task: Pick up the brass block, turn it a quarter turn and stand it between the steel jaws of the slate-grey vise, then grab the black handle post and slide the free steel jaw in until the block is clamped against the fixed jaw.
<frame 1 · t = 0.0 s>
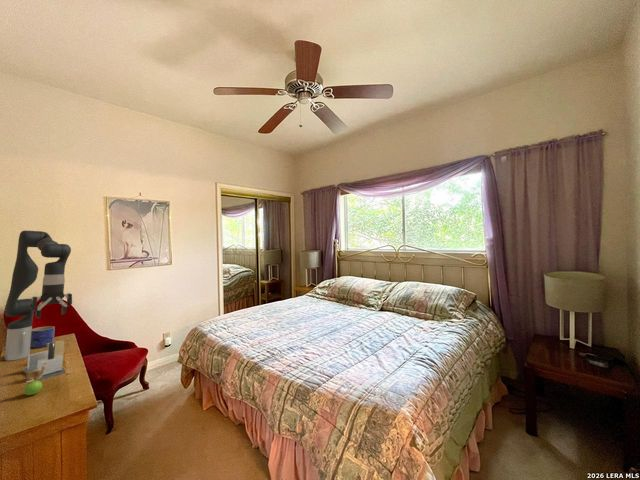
hand: (51, 316, 126), 29 cm above the dresser, fingers open, 8 cm apart
brass block: (54, 360, 142), on the dresser
planter: (41, 346, 163), on the dresser
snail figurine: (34, 394, 109), on the dresser
free jaw: (50, 357, 125), point 9 cm above the dresser, slide at 0.0 cm
vise: (44, 372, 128), on the dresser
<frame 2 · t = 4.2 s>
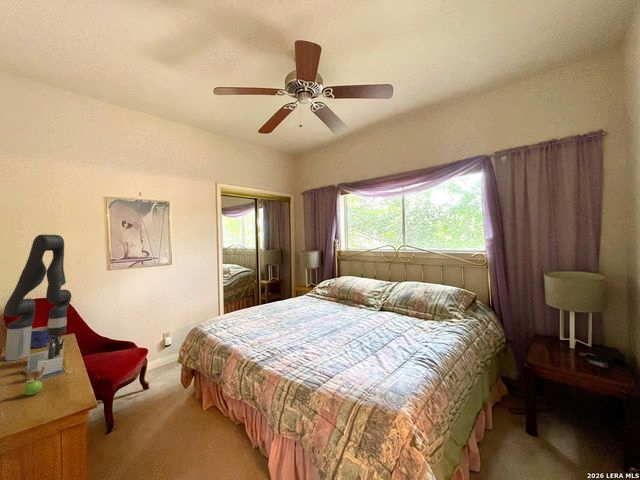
hand: (54, 356, 142), 2 cm above the dresser, fingers closed on brass block, 4 cm apart
brass block: (54, 360, 142), on the dresser, touching gripper
everything else where it was.
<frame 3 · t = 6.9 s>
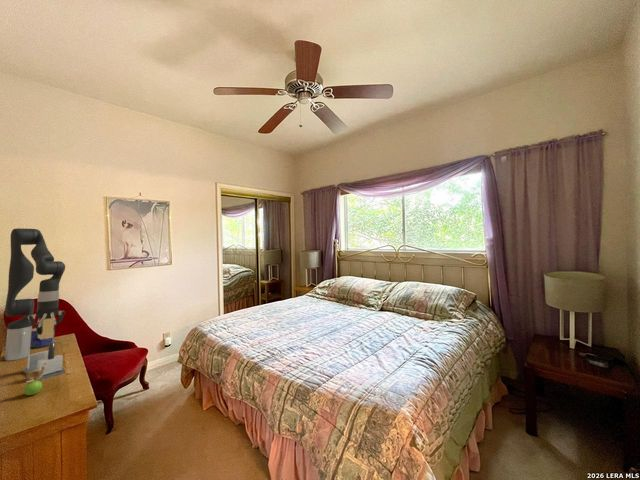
hand: (45, 333, 130), 19 cm above the dresser, fingers closed on brass block, 4 cm apart
brass block: (45, 337, 130), point 17 cm above the dresser, touching gripper
everything else where it was.
when the fingers open (5 cm above the dresser, at t = 10.0 s): brass block stays where it is, resting on vise.
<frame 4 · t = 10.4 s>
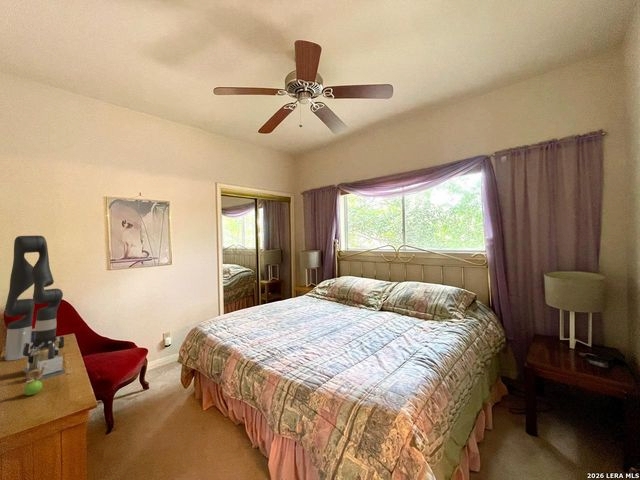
hand: (43, 360, 129), 6 cm above the dresser, fingers open, 8 cm apart
brass block: (42, 368, 129), point 1 cm above the dresser, touching vise
everything else where it was.
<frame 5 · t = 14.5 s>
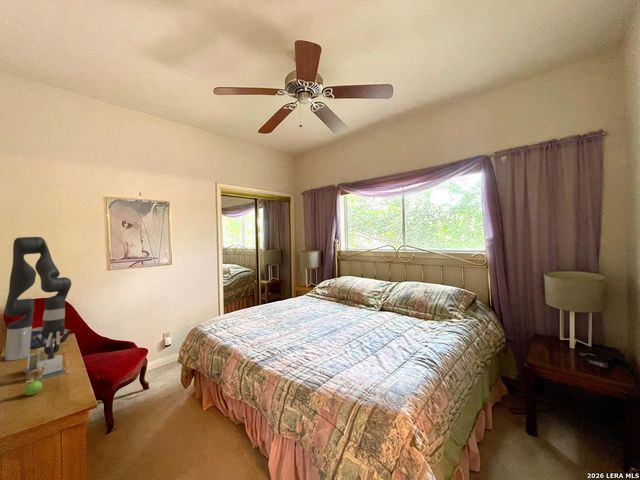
hand: (51, 353, 125), 11 cm above the dresser, fingers closed on free jaw, 2 cm apart
free jaw: (50, 357, 125), point 9 cm above the dresser, slide at 0.0 cm, touching gripper
everything else where it was.
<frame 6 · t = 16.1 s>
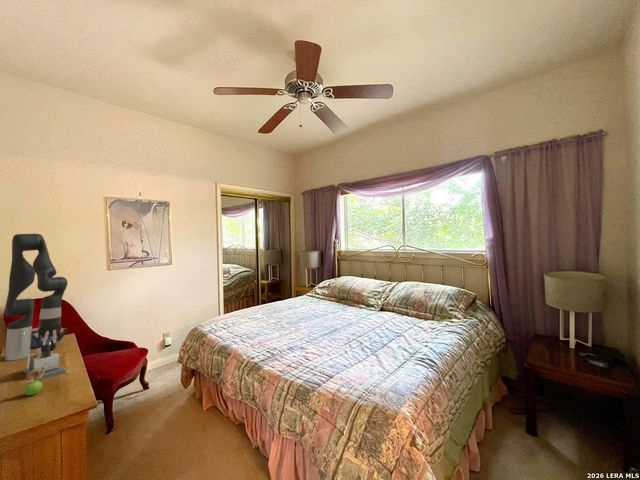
hand: (48, 351, 127), 11 cm above the dresser, fingers closed on free jaw, 2 cm apart
brass block: (42, 368, 129), point 1 cm above the dresser, touching free jaw, vise
free jaw: (47, 355, 127), point 9 cm above the dresser, slide at 4.6 cm, touching brass block, gripper
everything else where it was.
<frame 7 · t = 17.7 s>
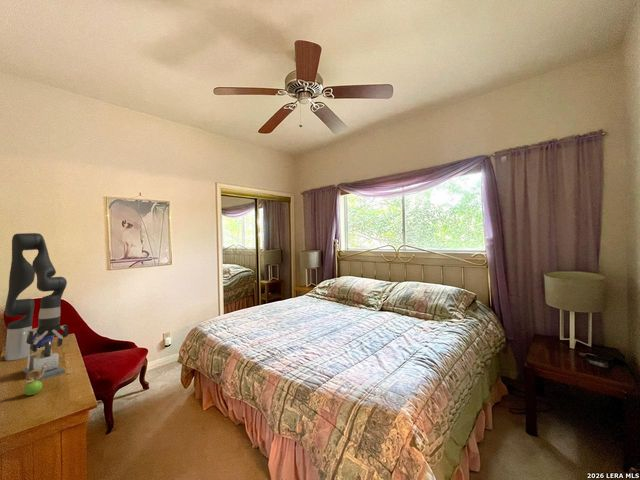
hand: (47, 348, 128), 12 cm above the dresser, fingers open, 8 cm apart
brass block: (42, 368, 129), point 1 cm above the dresser, touching vise
free jaw: (46, 355, 127), point 9 cm above the dresser, slide at 5.0 cm
everything else where it was.
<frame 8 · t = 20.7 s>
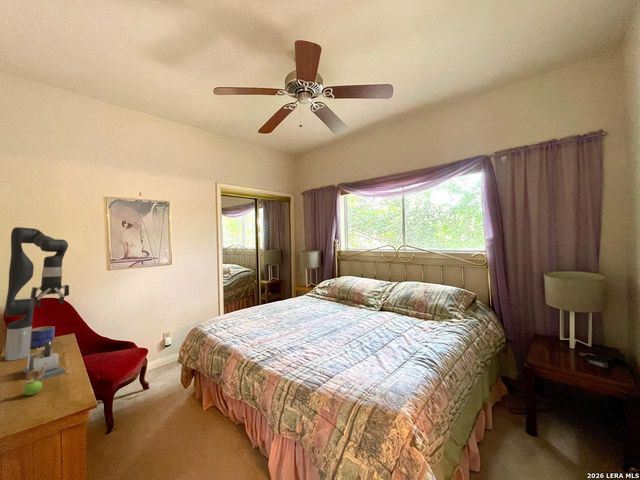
hand: (49, 305, 137), 32 cm above the dresser, fingers open, 8 cm apart
nothing on the dresser moved.
at the end: brass block 0.2 cm from the target spot, point 1.5 cm above the dresser; brass block tilted 0°; free jaw slide at 5.0 cm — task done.
